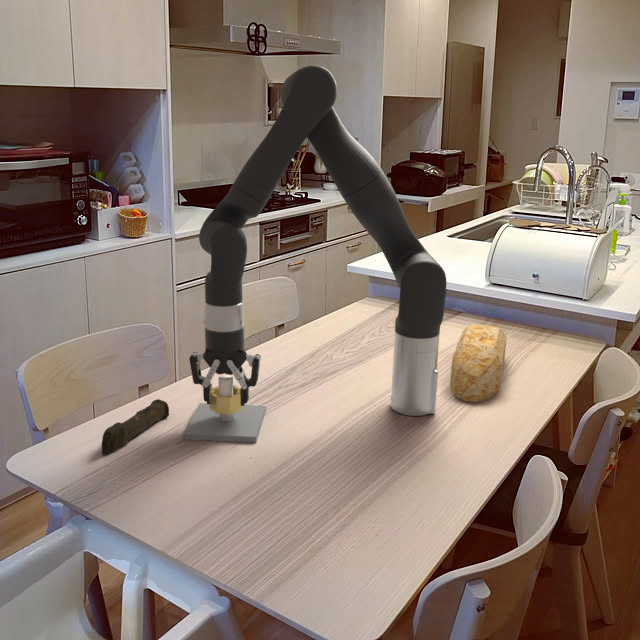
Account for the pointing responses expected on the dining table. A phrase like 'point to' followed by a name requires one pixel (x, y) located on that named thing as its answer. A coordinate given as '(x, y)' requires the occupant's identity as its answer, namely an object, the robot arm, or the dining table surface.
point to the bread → (478, 363)
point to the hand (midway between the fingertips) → (226, 403)
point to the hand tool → (133, 426)
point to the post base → (226, 430)
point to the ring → (225, 401)
